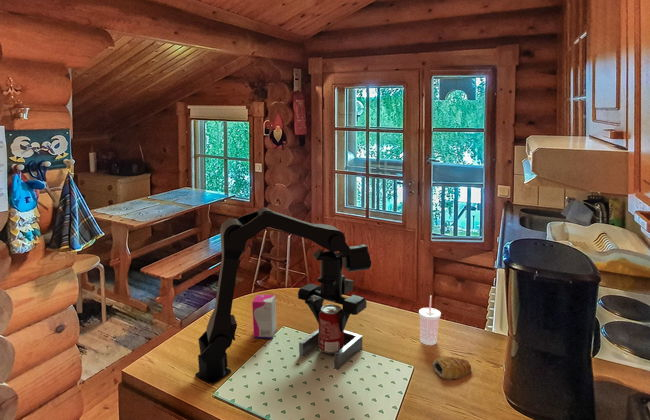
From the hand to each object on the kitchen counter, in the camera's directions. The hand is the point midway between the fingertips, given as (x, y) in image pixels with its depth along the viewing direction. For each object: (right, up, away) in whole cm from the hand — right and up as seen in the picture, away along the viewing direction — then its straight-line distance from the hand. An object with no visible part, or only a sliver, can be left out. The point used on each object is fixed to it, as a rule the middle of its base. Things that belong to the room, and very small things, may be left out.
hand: (331, 327), depth 120 cm
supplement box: (-19, -5, +12) cm, 23 cm away
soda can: (0, -7, +2) cm, 7 cm away
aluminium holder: (0, -7, +2) cm, 7 cm away
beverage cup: (+28, -6, +7) cm, 30 cm away
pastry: (+30, -10, -7) cm, 33 cm away
